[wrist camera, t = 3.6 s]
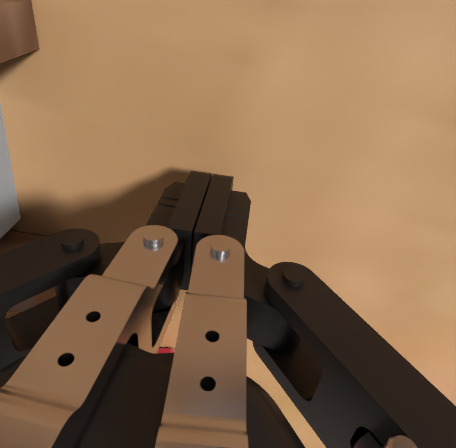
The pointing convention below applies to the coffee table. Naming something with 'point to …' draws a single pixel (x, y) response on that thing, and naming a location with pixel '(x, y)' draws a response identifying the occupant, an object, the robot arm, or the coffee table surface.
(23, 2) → the chute
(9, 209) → the block
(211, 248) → the robot arm
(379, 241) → the coffee table surface
